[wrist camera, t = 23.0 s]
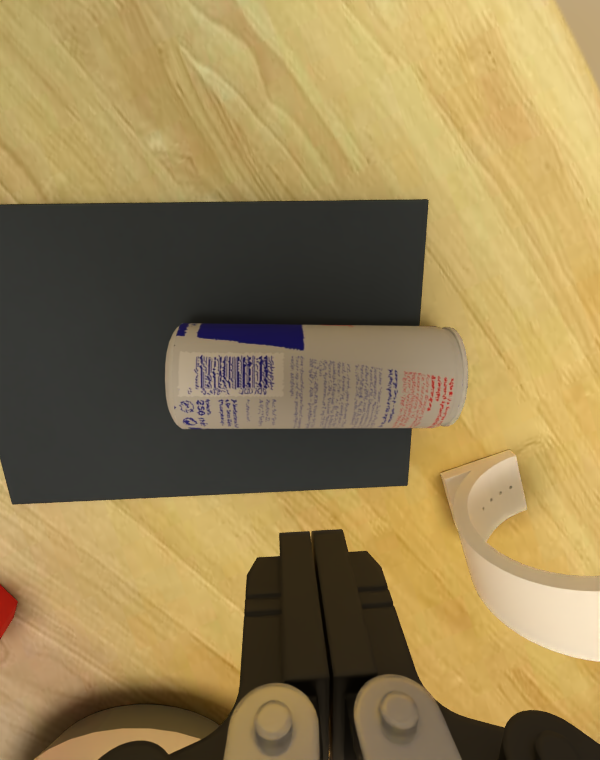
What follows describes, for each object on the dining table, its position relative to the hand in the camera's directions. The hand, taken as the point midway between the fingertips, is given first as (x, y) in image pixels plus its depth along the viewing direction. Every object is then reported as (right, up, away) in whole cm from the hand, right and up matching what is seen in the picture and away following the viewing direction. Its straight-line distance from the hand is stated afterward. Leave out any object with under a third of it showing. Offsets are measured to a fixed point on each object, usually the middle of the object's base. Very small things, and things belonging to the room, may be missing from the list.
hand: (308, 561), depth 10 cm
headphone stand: (+12, -3, +20) cm, 24 cm away
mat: (-6, +5, +16) cm, 18 cm away
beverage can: (-7, +5, +13) cm, 15 cm away
